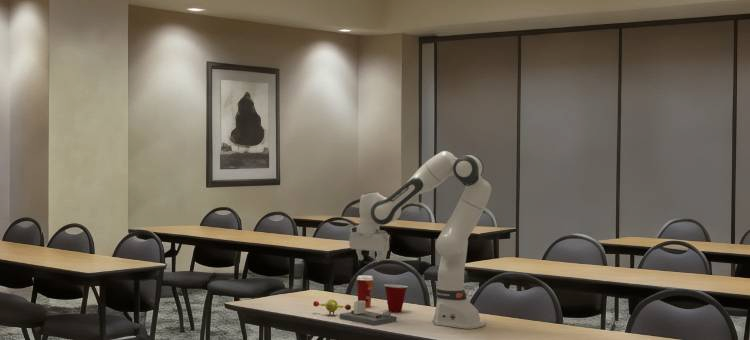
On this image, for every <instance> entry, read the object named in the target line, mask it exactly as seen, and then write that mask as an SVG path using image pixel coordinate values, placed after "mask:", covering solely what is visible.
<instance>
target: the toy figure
mask: <svg viewBox="0 0 750 340" xmlns="http://www.w3.org/2000/svg"><path fill="white" fill-rule="evenodd" d="M313 306H314V307H319V306H321V307H325V308H326V310H327V311H328V312H329V314H328V316H335V312H336V311H337V310H338V308H339V309H343V308H344V309H345V310H346V311H349V310H351V308H352V307H351V305H350V303H349V304H345V305H344V306H343V305H342V304H341V305H339V304H338V302H337V301H336V300H334V299H329V300H327V301H325V302H324V303H323V302H322V303H320V302H319V301H318V300H314V301H313Z"/></svg>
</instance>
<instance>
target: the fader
mask: <svg viewBox="0 0 750 340" xmlns="http://www.w3.org/2000/svg"><path fill="white" fill-rule="evenodd" d="M365 302H366V301H358V300H357V301H353V310H354V314H361V313H365V311H366V308H365Z"/></svg>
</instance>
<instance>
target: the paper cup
mask: <svg viewBox="0 0 750 340" xmlns="http://www.w3.org/2000/svg"><path fill="white" fill-rule="evenodd" d="M373 277H374V276H373V275H365V274H362V275H358V276H357V277H356V280H357V281H356V282H357V284H356V285H357V301H366V302H365V309H366V308H371V306H372V305H371V304H372V303H371V302H372V291H373V282H374V278H373Z"/></svg>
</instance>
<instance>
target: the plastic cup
mask: <svg viewBox="0 0 750 340" xmlns="http://www.w3.org/2000/svg"><path fill="white" fill-rule="evenodd" d="M383 286H384V289H385V294H386V295H385V296H386V304H387V309H388V310H387V311H388V312H390V313H402V310H403V306H404V300H405V297H406V292H407V289H408V287H409V286H408V285H401V284H390V283H389V284H384V285H383Z"/></svg>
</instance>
